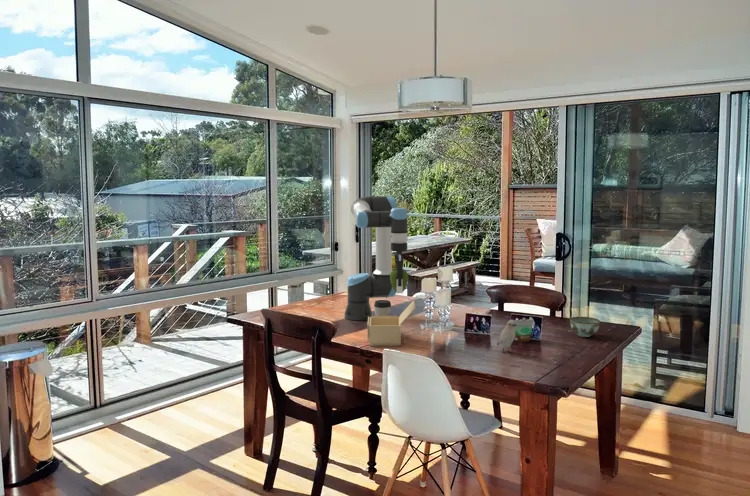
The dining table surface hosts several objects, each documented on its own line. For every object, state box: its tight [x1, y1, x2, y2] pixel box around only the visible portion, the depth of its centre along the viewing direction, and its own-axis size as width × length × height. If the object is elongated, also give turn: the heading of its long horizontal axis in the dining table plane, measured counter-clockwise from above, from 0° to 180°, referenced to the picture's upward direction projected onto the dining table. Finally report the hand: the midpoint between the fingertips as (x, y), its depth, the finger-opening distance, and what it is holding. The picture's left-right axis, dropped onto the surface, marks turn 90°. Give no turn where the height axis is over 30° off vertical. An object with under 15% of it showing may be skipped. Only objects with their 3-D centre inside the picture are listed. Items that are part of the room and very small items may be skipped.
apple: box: [390, 269, 409, 294], centre depth 284 cm, size 9×8×12 cm
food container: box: [512, 316, 535, 343], centre depth 284 cm, size 12×6×10 cm, turn 117°
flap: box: [398, 300, 417, 325], centre depth 284 cm, size 16×1×10 cm
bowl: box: [569, 316, 601, 338], centre depth 292 cm, size 14×13×8 cm
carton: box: [366, 315, 402, 347], centre depth 285 cm, size 20×15×10 cm
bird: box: [496, 319, 517, 354], centre depth 264 cm, size 5×14×15 cm, turn 23°
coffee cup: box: [373, 299, 392, 316], centre depth 302 cm, size 8×8×15 cm
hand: (398, 291), depth 284 cm, fingers closed on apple, 8 cm apart
